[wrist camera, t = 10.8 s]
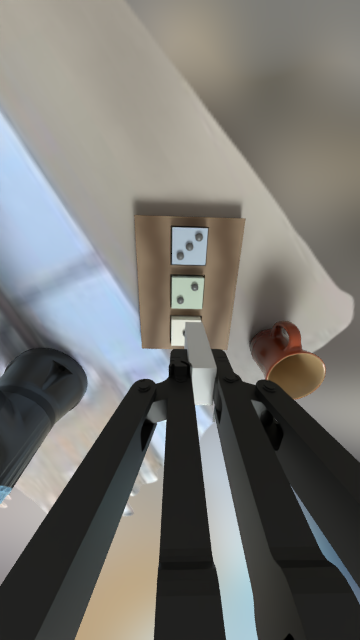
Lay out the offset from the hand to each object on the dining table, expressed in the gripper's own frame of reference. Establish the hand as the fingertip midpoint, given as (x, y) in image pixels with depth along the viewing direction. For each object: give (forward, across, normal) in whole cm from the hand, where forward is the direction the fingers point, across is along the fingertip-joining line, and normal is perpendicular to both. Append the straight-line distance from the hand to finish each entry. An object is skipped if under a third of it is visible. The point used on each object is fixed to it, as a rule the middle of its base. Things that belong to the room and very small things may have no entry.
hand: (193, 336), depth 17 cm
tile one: (+18, 0, -7) cm, 19 cm away
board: (+18, 0, 0) cm, 18 cm away
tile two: (+18, 0, 0) cm, 18 cm away
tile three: (+18, 0, +7) cm, 19 cm away
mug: (+18, +16, -9) cm, 26 cm away
